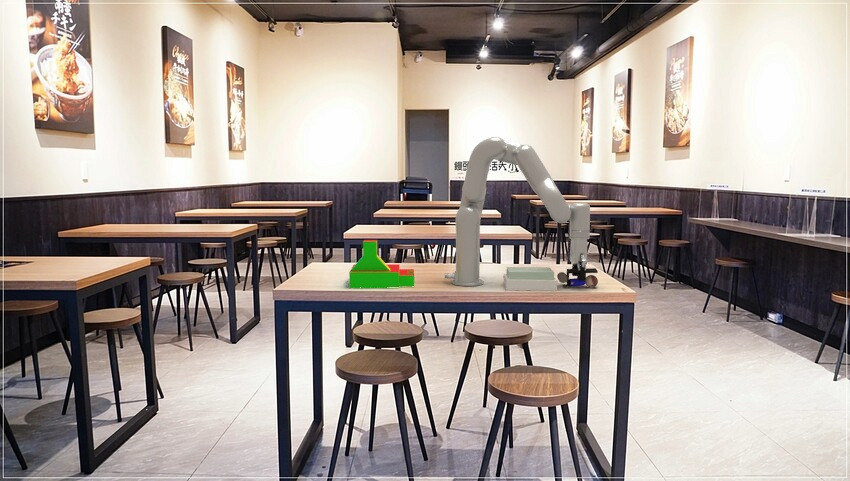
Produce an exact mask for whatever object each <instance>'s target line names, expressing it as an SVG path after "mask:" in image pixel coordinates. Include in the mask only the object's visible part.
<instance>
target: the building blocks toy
mask: <svg viewBox="0 0 850 481" xmlns="http://www.w3.org/2000/svg"><path fill="white" fill-rule="evenodd" d="M362 252H363V253H362V256H361V257H360V259H358V261H357V262H356V263H355V264H353V265H352V267H351V268H350V270H349V273H348V275H349V276H348V277H349V279H348V280H349V289H350V288H354V289H388V288H387V287H399V286H414V287H415V269H414V268H408V269H406V268H403V269H402V268H400V267H401V266H400V265H401V264H396V263H395V264H394V263H393V264H387V263H386V262H385V261H384V260H383V259H382V258H381V257H380V256H379V254H378V239H364V240H363V241H362ZM360 287H361V288H360ZM399 288H400V287H399Z"/></svg>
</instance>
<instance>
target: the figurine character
mask: <svg viewBox="0 0 850 481" xmlns="http://www.w3.org/2000/svg"><path fill="white" fill-rule="evenodd" d="M577 270H578V269H572V268H566V273H565V272H564V271H560V272H558V273H557V274H556V278H557V281H559V282H560V283H561V284H562V286H563V288H571V287H580V286H586V287H588V288H591V289H592V288H595V287H597V285H598V283H599V280H598V277H597V276H595V275H593V274H598V269H597V268H595V267H593V268H587V267H586V274H589V275H586V280H585V281H578V280H577V277H574V278H570V274H572V273H577Z"/></svg>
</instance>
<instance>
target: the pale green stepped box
mask: <svg viewBox="0 0 850 481" xmlns="http://www.w3.org/2000/svg"><path fill="white" fill-rule="evenodd" d="M503 285H504V288H505V290H506V291H514V290H531V291H530V292H536V291H538V292H547V291H548V292H557V291H558V279H556V278H555V272H554V270H553V269H552V268H551V267H550V266H549V267H544V266H543V267H542V266H541V267H540V266H539V267H537V266H536V267H532V266H531V267H530V266H526V267H525V266H521V267H520V266H506V272H505V273H504V274H503Z"/></svg>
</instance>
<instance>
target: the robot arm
mask: <svg viewBox="0 0 850 481" xmlns="http://www.w3.org/2000/svg"><path fill="white" fill-rule="evenodd" d="M494 160H495V161H500V162H502V163H506V164H510V165H514V166H518V168H519V170H520V172H521V174H522V175H523V176H524V178H525V179H526V182H527V183H528V184H529V186H530V188H531V189H532V191H533V192H534V193H535V194H536V195H537V197H539V199H540V200H541V202H542V204H543V206H544V207H545V209H546V210H547V211H548V213H549V216H550V218H551V219H552V220H553V221H554V222H556V223H559V224H564V223H566V222H568V221H569V239H570V248H569V250H570V251H569V262H570V263H571V265H572V266H571V269H578V270H577V273H571V276H572V277H576V278H577V280H578V281H585V280H586V277H587V273H586V268H587V267H586V266H587V263H588V240H589V239H590V236H591V235H590V232H591V230H590V229H591V224H590V223H591V221H590V220H591V206H590V204H589V203H587V202H573V203H571V202H570V203H567V201H566V199H565V197H564V196H563V194H562V193H561V191H560V190H559V188H558V186H557V185H556V183H555V181H554V180H553V177H552V176H551V174H550V173H549V171H548V169H547V168H546V167H545V165H544V163H543V161H542V160H541V157H539V155H538V154H537V152H536V150H535V149H534V148H533V147H532V146H531V145H529V144H521V143H516V142H512V141H509V140H505V139H503V138H502V137H499V136H493V137H488V138H486V139H483V140H482V141H480V142H479V143H478V144H477V145H476V146H475V147H474V148H473V150H472V151H471V154H470V156H469V159H468V164H467V169H466V172H465V176H464V182H463V184H462V188H461V191H462V192H461V197H460V198H461V199H460V204H459V209H458V210H457V211H456V215H455V271H454V272H452V273H446V272H445V273H444V279H452V280H451V284H452V285H455V286H459V287H460V286H462V287H476V286H482V285H483V284H484V280H482V279H480V267H481V266H480V264H481V263H480V261H481V260H480V259H481V256H480V255H481V247H480V246H481V245H480V244H481V218H482V214H483V209H484V205H485V199H486V195H487V194H486V193H487V180H488V175H489V171H490V167H491V164H492V162H493V161H494Z"/></svg>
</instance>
